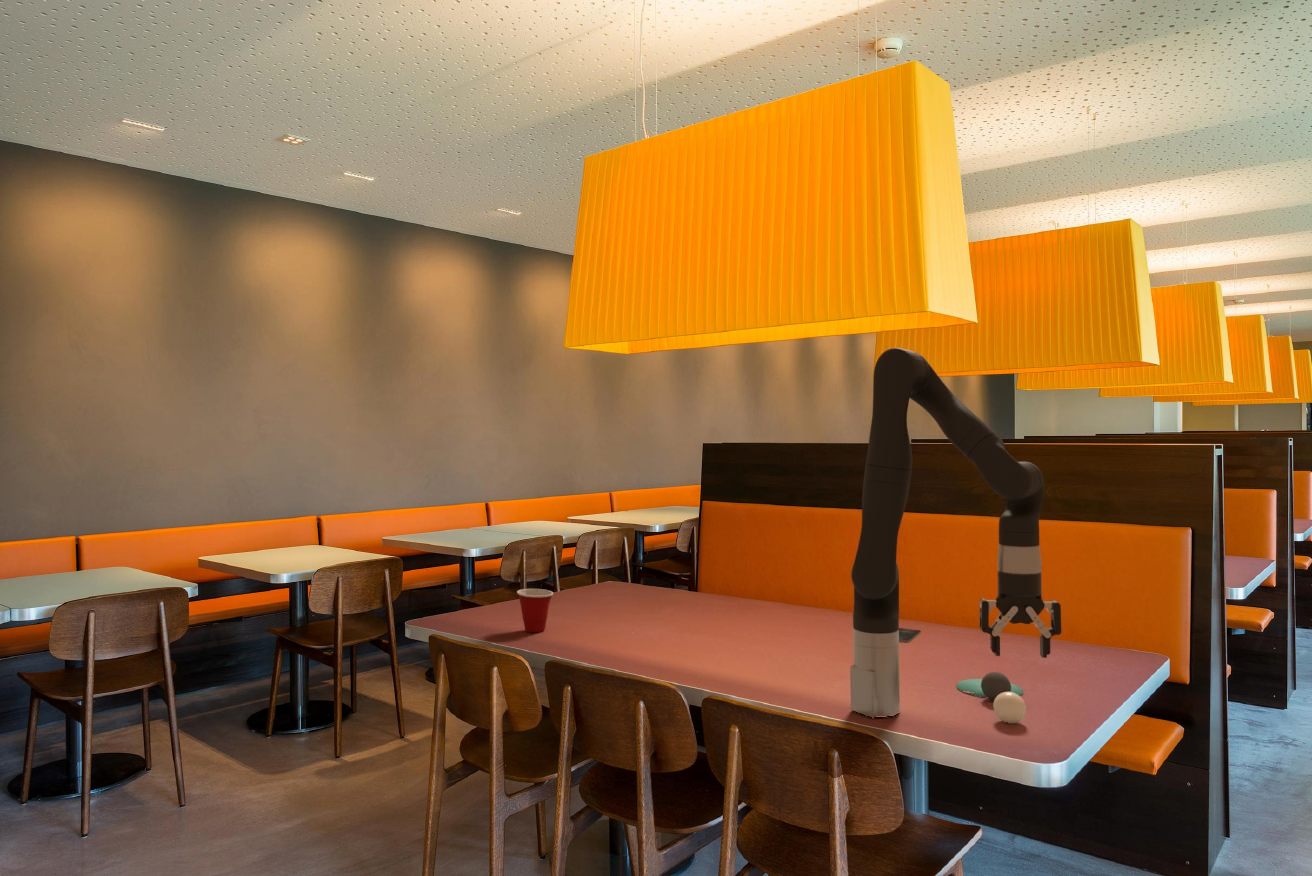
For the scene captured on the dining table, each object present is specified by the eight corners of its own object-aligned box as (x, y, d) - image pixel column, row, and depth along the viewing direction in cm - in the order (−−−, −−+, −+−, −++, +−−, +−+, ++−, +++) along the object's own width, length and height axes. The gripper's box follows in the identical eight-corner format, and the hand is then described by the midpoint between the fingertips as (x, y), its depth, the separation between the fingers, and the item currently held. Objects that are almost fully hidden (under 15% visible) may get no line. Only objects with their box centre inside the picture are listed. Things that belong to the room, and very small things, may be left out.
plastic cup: (551, 635, 245) (550, 594, 245) (514, 635, 245) (513, 594, 245) (556, 626, 256) (555, 587, 256) (521, 626, 256) (520, 587, 256)
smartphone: (922, 630, 243) (908, 641, 230) (922, 633, 243) (908, 644, 230) (896, 627, 247) (881, 638, 234) (896, 630, 247) (881, 641, 234)
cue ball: (1014, 730, 163) (1013, 699, 163) (987, 721, 168) (986, 691, 168) (1032, 723, 166) (1032, 693, 166) (1005, 715, 171) (1005, 686, 171)
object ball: (1000, 706, 176) (999, 678, 176) (975, 699, 182) (975, 671, 181) (1017, 701, 180) (1016, 673, 180) (992, 694, 185) (992, 667, 185)
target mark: (997, 703, 179) (997, 702, 179) (942, 686, 191) (942, 686, 191) (1036, 691, 187) (1036, 690, 187) (981, 676, 198) (981, 675, 198)
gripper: (1055, 566, 159) (1055, 652, 159) (975, 564, 162) (976, 649, 162) (1066, 572, 152) (1066, 663, 152) (982, 571, 155) (983, 659, 155)
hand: (1020, 655), depth 157 cm, fingers open, 7 cm apart
